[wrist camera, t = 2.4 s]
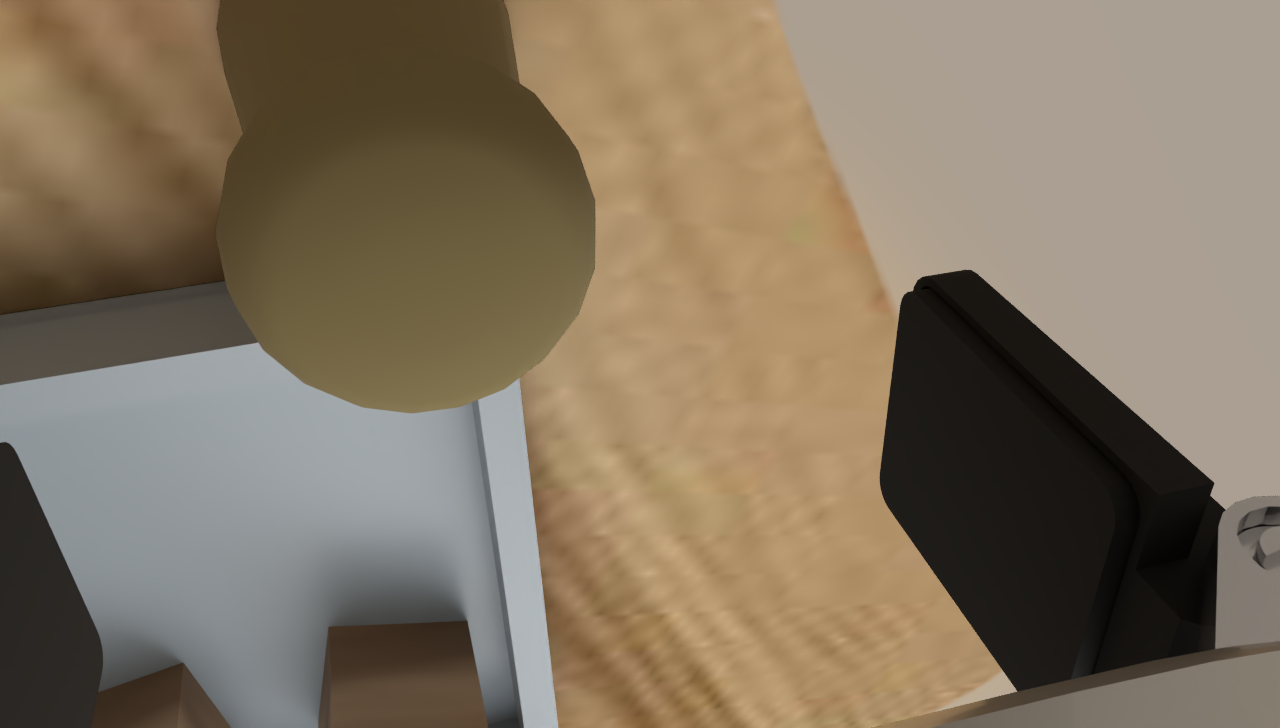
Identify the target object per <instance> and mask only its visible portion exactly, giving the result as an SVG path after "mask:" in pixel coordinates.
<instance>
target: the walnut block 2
mask: <svg viewBox="0 0 1280 728" xmlns="http://www.w3.org/2000/svg"><path fill="white" fill-rule="evenodd" d="M318 728H488V723H487V718H486V713H485V708H484V703H483V698H482V692H481V687H480V682H479V677H478V672H477V667H476V662H475V656H474V651H473V646H472V641H471V636H470V631H469V626H468V621H453V622H429V623H405V624H380V625H356V626H332V627H328V636H327V645H326V654H325V663H324V672H323V682H322V691H321V700H320V709H319V719H318Z"/></svg>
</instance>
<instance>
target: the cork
mask: <svg viewBox="0 0 1280 728" xmlns="http://www.w3.org/2000/svg"><path fill="white" fill-rule="evenodd" d="M217 34H218V39H219V45H220V50H221V55H222V61H223V66H224V72H225V76H226V79H227V82H228V86H229V89H230V92H231V95H232V99H233V102H234V105H235V108H236V111H237V115H238V118H239V121H240V124H241V128H242V131H243V135H242V137H241V138H240V140H239V142H238V143H237V145H236V147H235V148H234V150H233V152H232V154H231V155H230V157H229V159H228V161H227V167H226V172H225V178H224V184H223V190H222V196H221V202H220V208H219V214H218V221H217V227H216V239H217V244H218V248H219V253H220V258H221V263H222V268H223V272H224V277H225V282H226V287H227V290H228V292H229V294H230V296H231V298H232V300H233V302H234V304H235V306H236V307H237V309H238V311H239V312H240V314H241V315H242V317H243V319H244V320H245V322H246V323H247V325H248V327H249V328H250V330H251V331H252V333H253V335H254V336H255V338H256V339H257V341H258V343H259V344H260V346H261V347H262V349H263V350H264V351H265V352H266V353H267V354H269V355H270V356H271V357H272V358H273V359H275V360H276V361H277V362H278V363H280V364H281V365H282V366H283V367H284V368H286V369H287V370H288V371H289V372H291V373H292V374H293V375H294V376H296V377H297V378H298V379H299V380H300V381H302V382H303V383H304V384H306V385H309V386H311V387H313V388H316V389H318V390H321V391H323V392H326V393H328V394H330V395H333V396H335V397H338V398H340V399H342V400H345V401H347V402H350V403H352V404H355V405H357V406H360V407H363V408H370V409H378V410H387V411H395V412H403V413H411V414H412V413H420V412H428V411H435V410H443V409H450V408H458V407H462V406H464V405H467V404H469V403H472V402H474V401H477V400H479V399H482V398H484V397H486V396H489V395H491V394H494V393H496V392H499V391H501V390H504V389H505V388H507V387H508V386H509V385H511V384H512V383H513V382H515V381H516V380H517V379H519V378H520V377H521V376H523V375H524V374H525V373H527V372H528V371H529V370H531V369H532V368H533V367H535V366H536V365H537V364H539V363H540V362H541V361H542V360H543V359H544V358H545V357H546V356H547V355H548V354H549V353H550V351H551V350H552V349H553V347H554V346H555V345H556V343H557V342H558V341H559V339H560V338H561V337H562V335H563V334H564V333H565V331H566V330H567V329H568V328H569V326H570V325H571V324H572V322H573V321H574V320H575V318H576V317H577V316H578V314H579V311H580V309H581V306H582V303H583V300H584V297H585V295H586V292H587V289H588V286H589V283H590V280H591V278H592V275H593V272H594V269H595V199H594V196H593V193H592V190H591V187H590V184H589V181H588V178H587V176H586V173H585V170H584V167H583V164H582V161H581V158H580V155H579V152H578V150H577V149H576V147H575V146H574V144H573V142H572V141H571V139H570V138H569V136H568V135H567V134H566V133H565V131H564V130H563V129H562V127H561V126H560V125H559V124H558V122H557V121H556V120H555V119H554V117H553V116H552V115H551V114H550V112H549V111H548V110H547V108H546V107H545V106H544V105H543V103H542V102H541V101H540V100H539V98H538V97H537V96H536V95H535V93H533V92H532V91H530V90H529V89H527V88H526V87H524V86H522V85H521V84H520V83H519V77H518V70H517V64H516V58H515V52H514V46H513V40H512V33H511V27H510V21H509V15H508V13H507V10H506V7H505V4H504V1H503V0H221V2H220V8H219V15H218V21H217Z"/></svg>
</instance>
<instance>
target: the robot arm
mask: <svg viewBox="0 0 1280 728" xmlns="http://www.w3.org/2000/svg"><path fill="white" fill-rule="evenodd" d="M1213 485H1214V482H1213V481H1212V480H1210V479H1209V478H1208V477H1207V476H1206V475H1205V474H1204V473H1202V472H1201V471H1200V470H1199V469H1198V468H1197V467H1195V466H1194V465H1193V464H1192V463H1191V462H1190V461H1189V460H1188V459H1187V458H1185V457H1184V456H1183V455H1182V454H1181V453H1180V452H1179V451H1178V450H1176V449H1175V448H1174V447H1173V446H1172V445H1171V444H1170V443H1168V442H1167V441H1166V440H1165V439H1164V438H1163V437H1162V436H1161V435H1159V434H1158V433H1157V432H1156V431H1155V430H1154V429H1153V428H1151V427H1150V426H1149V425H1148V424H1147V423H1146V422H1145V421H1143V420H1142V419H1141V418H1140V417H1139V416H1138V415H1137V414H1136V413H1134V412H1133V411H1132V410H1131V409H1130V408H1129V407H1128V406H1126V405H1125V404H1124V403H1123V402H1122V401H1121V400H1120V399H1119V398H1117V397H1116V396H1115V395H1114V394H1113V393H1112V392H1111V391H1109V390H1108V389H1107V388H1106V387H1105V386H1104V385H1102V384H1101V383H1100V382H1099V381H1098V380H1097V379H1096V378H1095V377H1094V376H1092V375H1091V374H1090V373H1089V372H1088V371H1087V370H1086V369H1085V368H1083V367H1082V366H1081V365H1080V364H1079V363H1078V362H1077V361H1075V360H1074V359H1073V358H1072V357H1071V356H1070V355H1069V354H1068V353H1066V352H1065V351H1064V350H1063V349H1062V348H1060V346H1058V345H1057V344H1056V343H1055V342H1054V341H1053V340H1052V339H1050V338H1049V337H1048V336H1047V335H1046V334H1045V333H1044V332H1042V331H1041V330H1040V329H1039V328H1038V327H1037V326H1036V325H1035V324H1033V323H1032V322H1031V321H1030V320H1029V319H1028V318H1027V317H1025V316H1024V315H1023V314H1022V313H1021V312H1020V311H1018V310H1017V309H1016V308H1015V307H1014V306H1013V305H1012V304H1011V303H1010V302H1009V301H1007V300H1006V299H1005V298H1004V297H1003V296H1002V295H1000V294H999V293H998V292H997V291H996V290H995V289H994V288H993V287H991V286H990V285H989V284H988V283H987V282H986V281H985V280H984V279H982V278H981V277H980V276H979V275H978V274H977V273H975V272H973V271H972V270H962V271H956V272H950V273H943V274H938V275H932V276H925V277H922V278H920V279H919V280H918V281H917V283H916V285H915V286H914V290H913V291H911V292H907V293H906V294H905V295H904V296H903V298H902V301H901V305H900V313H899V321H898V330H897V338H896V346H895V354H894V362H893V371H892V379H891V387H890V395H889V404H888V412H887V420H886V428H885V436H884V445H883V453H882V461H881V469H880V486H881V491H882V495H883V498H884V500H885V503H886V504H887V506H888V508H889V509H890V511H891V512H892V514H893V515H894V516H895V518H896V519H897V521H898V522H899V524H900V525H901V526H902V528H903V529H904V531H905V532H906V533H907V535H908V536H909V538H910V539H911V541H912V542H913V543H914V545H915V546H916V548H917V549H918V551H919V552H920V553H921V555H922V556H923V558H924V559H925V560H926V562H927V563H928V565H929V566H930V568H931V569H932V570H933V572H934V573H935V575H936V576H937V578H938V579H939V580H940V582H941V583H942V585H943V586H944V587H945V589H946V590H947V592H948V593H949V595H950V596H951V597H952V599H953V600H954V602H955V603H956V605H957V606H958V607H959V609H960V610H961V612H962V613H963V614H964V616H965V617H966V619H967V620H968V622H969V623H970V624H971V626H972V627H973V629H974V630H975V632H976V633H977V634H978V636H979V637H980V639H981V640H982V641H983V643H984V644H985V646H986V647H987V649H988V650H989V651H990V653H991V654H992V656H993V657H994V659H995V660H996V661H997V663H998V664H999V666H1000V667H1001V668H1002V670H1003V671H1004V673H1005V674H1006V676H1007V677H1008V678H1009V680H1010V681H1011V683H1012V684H1013V685H1014V687H1015V688H1016V690H1017V691H1018V692H1014V693H1010V694H1007V695H1002V696H998V697H995V698H990V699H986V700H982V701H978V702H974V703H970V704H966V705H962V706H958V707H954V708H950V709H946V710H942V711H938V712H933V713H929V714H925V715H921V716H917V717H913V718H909V719H905V720H901V721H897V722H893V723H889V724H885V725H881V726H877V727H873V728H1280V496H1261V497H1251V498H1248V499H1245V500H1242V501H1239V502H1235V503H1234V504H1233V505H1231V506H1230V507H1229V508H1228V509H1227V510H1225V509H1224V508H1223V507H1222V506H1221V505H1220V504H1219V503H1218V502H1216V501H1215V500H1214V499H1213V498H1212V497H1211V496H1210V494H1211V491H1212V488H1213ZM102 670H103V651H102V644H101V640H100V636H99V634H98V631H97V629H96V627H95V624H94V622H93V620H92V618H91V616H90V613H89V611H88V609H87V607H86V604H85V602H84V600H83V598H82V596H81V593H80V591H79V589H78V587H77V585H76V582H75V580H74V578H73V576H72V574H71V571H70V569H69V567H68V565H67V563H66V560H65V558H64V556H63V554H62V552H61V549H60V547H59V545H58V543H57V540H56V538H55V536H54V534H53V532H52V529H51V527H50V525H49V523H48V521H47V518H46V516H45V514H44V512H43V510H42V507H41V505H40V503H39V501H38V499H37V496H36V494H35V492H34V490H33V487H32V485H31V483H30V481H29V479H28V476H27V474H26V472H25V470H24V468H23V465H22V463H21V461H20V459H19V457H18V454H17V453H16V451H15V449H14V448H13V447H12V446H11V445H10V443H7V442H1V443H0V728H91V723H92V718H93V714H94V709H95V704H96V699H97V695H98V690H99V685H100V680H101V676H102Z"/></svg>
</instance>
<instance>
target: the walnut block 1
mask: <svg viewBox="0 0 1280 728" xmlns="http://www.w3.org/2000/svg"><path fill="white" fill-rule="evenodd" d="M91 728H231V727H230V725H229V724H228V723H227V721H226V720H225V718H224V717H223V716H222V714H221V713H220V712H219V710H218V709H217V708H216V706H215V705H214V703H213V702H212V701H211V699H210V698H209V697H208V695H207V694H206V692H205V691H204V690H203V688H202V687H201V686H200V684H199V683H198V682H197V680H196V679H195V677H194V676H193V675H192V673H191V672H190V671H189V669H188V668H187V667H186V665H185V664H184V662H183V663H180V664H177V665H175V666H172V667H169V668H166V669H163V670H160V671H158V672H155V673H152V674H149V675H146V676H143V677H140V678H138V679H135V680H132V681H129V682H126V683H123V684H120V685H118V686H115V687H112V688H109V689H106V690H103V691H101V692H98V695H97V699H96V704H95V709H94V714H93V718H92V723H91Z"/></svg>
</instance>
